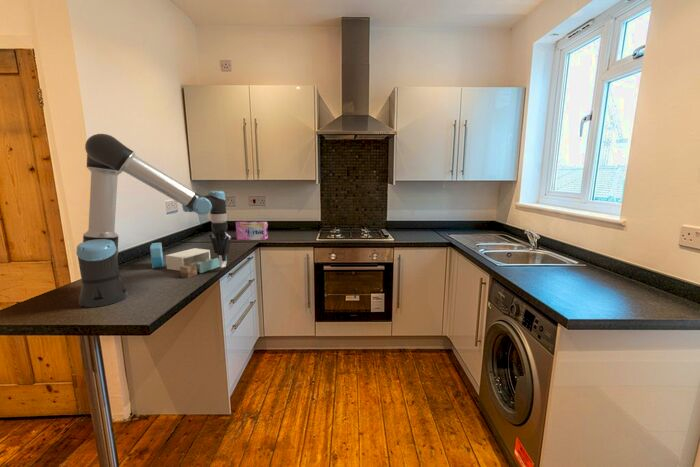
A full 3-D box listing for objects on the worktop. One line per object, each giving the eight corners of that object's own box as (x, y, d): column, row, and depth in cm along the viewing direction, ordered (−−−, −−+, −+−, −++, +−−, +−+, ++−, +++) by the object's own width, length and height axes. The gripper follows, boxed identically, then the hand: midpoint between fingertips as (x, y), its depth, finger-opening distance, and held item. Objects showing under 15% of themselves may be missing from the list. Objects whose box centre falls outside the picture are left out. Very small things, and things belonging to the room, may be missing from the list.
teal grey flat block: (226, 264, 171) (226, 255, 171) (200, 273, 156) (199, 263, 155) (209, 261, 176) (209, 253, 175) (182, 270, 160) (181, 261, 159)
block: (188, 277, 150) (187, 267, 149) (181, 276, 152) (180, 266, 151) (197, 274, 154) (196, 265, 153) (189, 273, 156) (188, 264, 155)
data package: (159, 246, 164) (161, 242, 174) (149, 247, 162) (151, 242, 172) (162, 268, 166) (163, 262, 176) (152, 269, 164) (154, 263, 174)
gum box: (269, 238, 247) (269, 221, 244) (266, 240, 239) (265, 222, 237) (240, 237, 248) (239, 220, 246) (236, 239, 241) (235, 222, 238)
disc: (192, 265, 164) (192, 262, 164) (205, 261, 171) (204, 258, 171) (204, 267, 161) (203, 263, 161) (216, 263, 168) (215, 260, 168)
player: (210, 262, 176) (209, 250, 175) (183, 271, 160) (181, 257, 159) (195, 260, 181) (194, 248, 180) (166, 268, 165) (165, 255, 163)
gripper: (234, 221, 158) (237, 266, 162) (215, 220, 163) (218, 263, 167) (223, 223, 151) (227, 270, 155) (203, 222, 156) (207, 267, 160)
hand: (222, 266), depth 161 cm, fingers closed
